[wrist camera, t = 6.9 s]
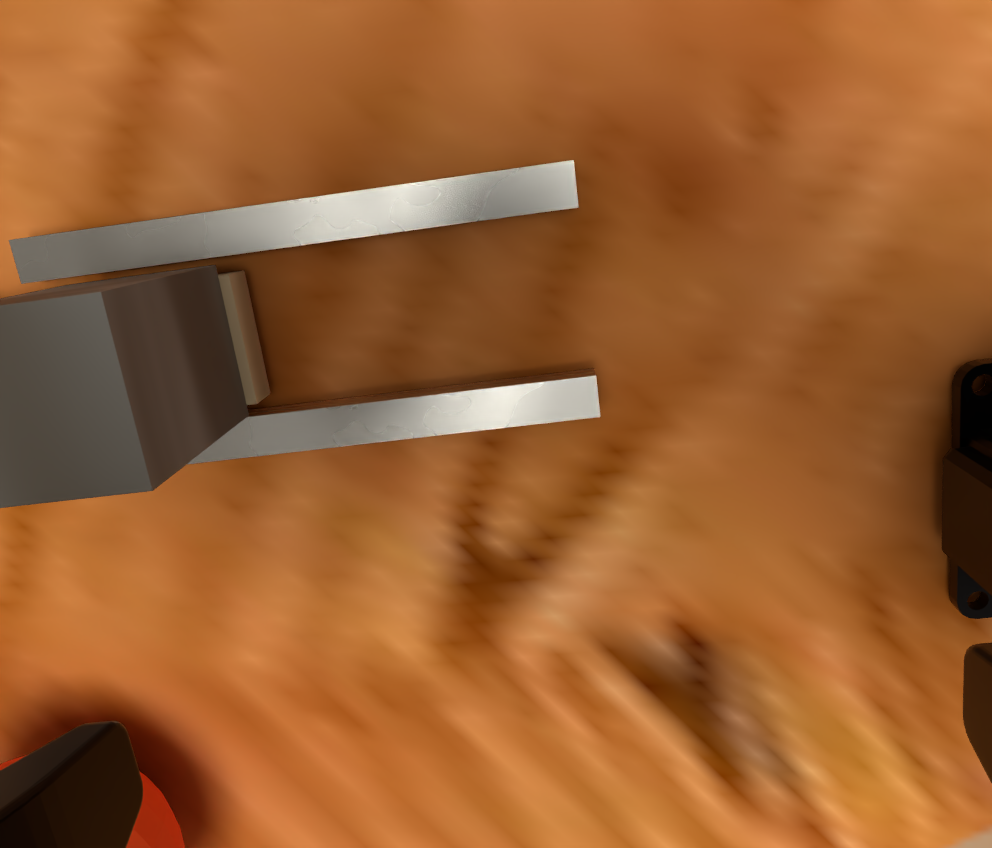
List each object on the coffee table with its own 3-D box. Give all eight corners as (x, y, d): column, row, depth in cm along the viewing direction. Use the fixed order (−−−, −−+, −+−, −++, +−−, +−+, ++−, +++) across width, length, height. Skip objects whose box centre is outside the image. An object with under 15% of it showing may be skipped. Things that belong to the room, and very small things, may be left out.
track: (572, 160, 19) (573, 159, 18) (598, 408, 20) (600, 416, 19) (29, 238, 20) (8, 240, 19) (93, 466, 21) (76, 477, 20)
